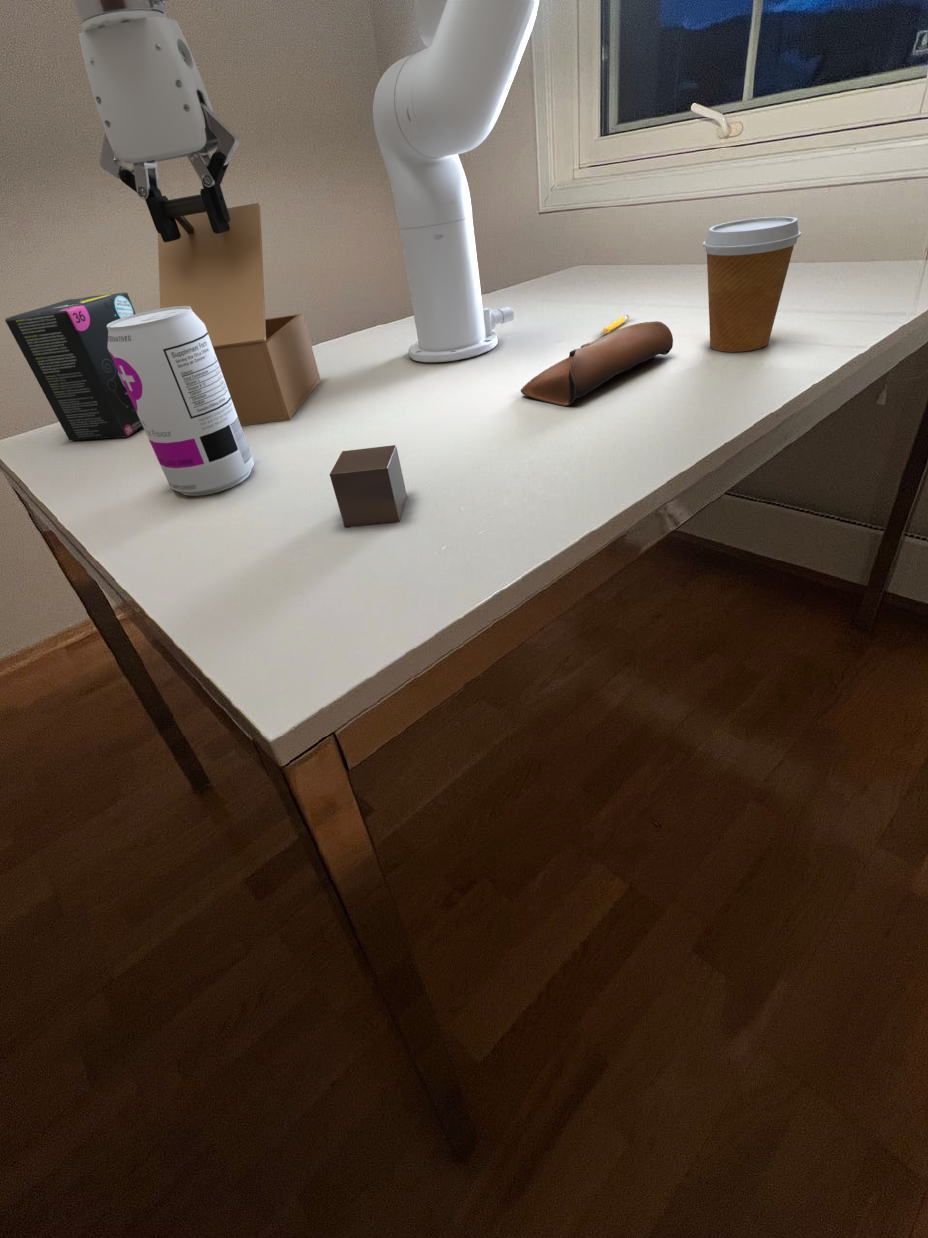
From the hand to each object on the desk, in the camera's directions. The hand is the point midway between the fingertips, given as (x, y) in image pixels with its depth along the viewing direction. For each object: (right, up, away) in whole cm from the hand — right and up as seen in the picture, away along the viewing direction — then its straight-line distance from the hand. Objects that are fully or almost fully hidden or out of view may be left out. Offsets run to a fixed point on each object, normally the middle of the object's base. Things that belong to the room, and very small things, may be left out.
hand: (196, 234), depth 68 cm
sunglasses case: (+44, -15, +3) cm, 46 cm away
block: (+22, -33, -17) cm, 43 cm away
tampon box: (-16, -16, +15) cm, 27 cm away
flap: (+1, -4, +3) cm, 5 cm away
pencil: (+50, -2, +18) cm, 53 cm away
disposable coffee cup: (+61, -10, +5) cm, 62 cm away
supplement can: (+4, -28, -6) cm, 29 cm away
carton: (+3, -14, +13) cm, 19 cm away
